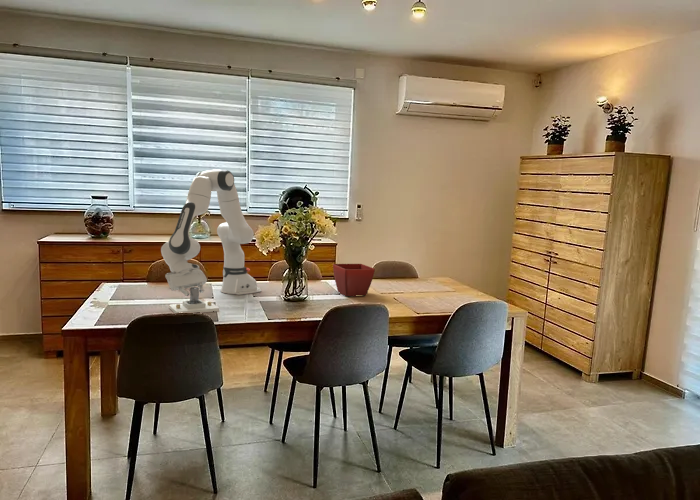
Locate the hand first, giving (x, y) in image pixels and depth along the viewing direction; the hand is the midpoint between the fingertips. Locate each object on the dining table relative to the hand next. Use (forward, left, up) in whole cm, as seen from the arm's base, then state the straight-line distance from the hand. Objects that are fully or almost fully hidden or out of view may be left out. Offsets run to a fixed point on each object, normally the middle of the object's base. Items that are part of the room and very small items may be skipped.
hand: (195, 293), depth 236 cm
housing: (0, -1, -8) cm, 8 cm away
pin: (0, -1, -6) cm, 6 cm away
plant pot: (-93, -2, -8) cm, 93 cm away
